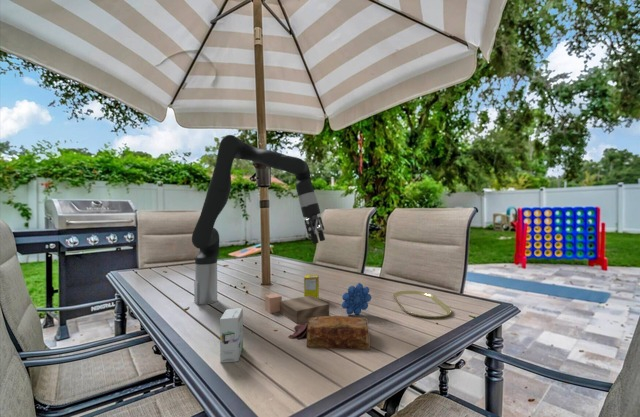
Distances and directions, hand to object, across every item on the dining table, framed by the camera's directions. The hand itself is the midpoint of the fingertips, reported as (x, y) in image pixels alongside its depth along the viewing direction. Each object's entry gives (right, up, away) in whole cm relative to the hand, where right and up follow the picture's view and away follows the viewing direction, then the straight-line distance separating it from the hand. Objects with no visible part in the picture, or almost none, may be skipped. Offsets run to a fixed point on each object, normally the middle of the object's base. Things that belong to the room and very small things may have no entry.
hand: (319, 242), depth 124 cm
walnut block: (-6, -28, -8) cm, 29 cm away
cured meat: (+3, -28, -29) cm, 40 cm away
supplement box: (-4, -28, +10) cm, 29 cm away
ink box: (-24, -27, -41) cm, 55 cm away
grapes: (+14, -27, -8) cm, 32 cm away
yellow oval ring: (+43, -27, +3) cm, 51 cm away
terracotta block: (-19, -27, -3) cm, 33 cm away
